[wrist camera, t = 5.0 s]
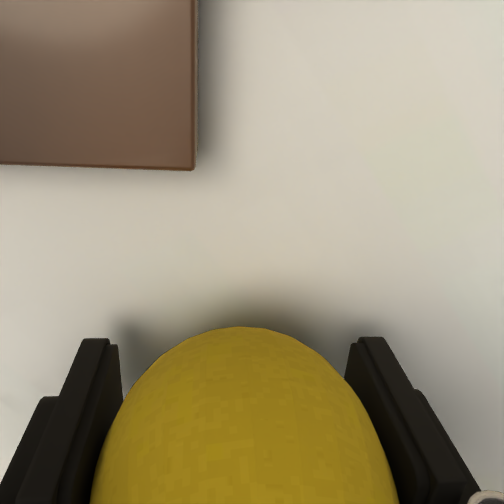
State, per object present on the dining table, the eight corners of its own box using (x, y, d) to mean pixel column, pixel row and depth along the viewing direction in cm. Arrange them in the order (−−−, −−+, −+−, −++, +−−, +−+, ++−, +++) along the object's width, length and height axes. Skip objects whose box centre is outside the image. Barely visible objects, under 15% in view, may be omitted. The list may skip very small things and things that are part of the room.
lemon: (91, 308, 11) (-144, 838, 4) (300, 233, 10) (500, 665, 3) (180, 447, 13) (147, 924, 6) (352, 390, 13) (532, 834, 6)
